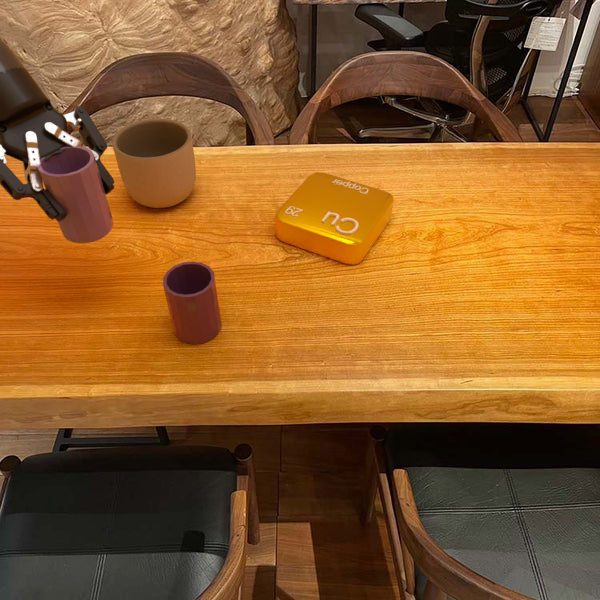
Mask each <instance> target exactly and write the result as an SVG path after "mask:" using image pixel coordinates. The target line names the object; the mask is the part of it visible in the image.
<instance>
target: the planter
mask: <svg viewBox="0 0 600 600" xmlns="http://www.w3.org/2000/svg"><path fill="white" fill-rule="evenodd" d="M111 141H112V142H111V144H112V149H113V153H114V156H115V160H116V163H117V167H118V172H119V173H120V178H121V181H122V184H123V186H124V188H125V190H126V192H127V193H128V195H129V196H130V198H132V200H134V201H135V202H136V203H138V204H140V205H142V206H144V207H148V208H153V209H165V208H170V207H174V206H176V205H178V204H180V203H182V202H183V201H185V200H186V199H187V198H188V197H189V196H190V195H191V194H192V193H193V190H194V187H195V184H196V181H197V169H196V158H195V150H194V145H193V144H194V143H193V136H192V132H191V130H190V128H189V127H188V126H187V125H185V124H184V123H183V122H180V121H177V120H174V119H169V118H161V117H160V118H147V119H146V118H145V119H141V120H137V121H134V122H131V123H129V124H127V125H125V126H124V127H121V128H120V129H119V130H118V131H117V132H116V133H115V134H114V136H113V138H112V140H111Z"/></svg>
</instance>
